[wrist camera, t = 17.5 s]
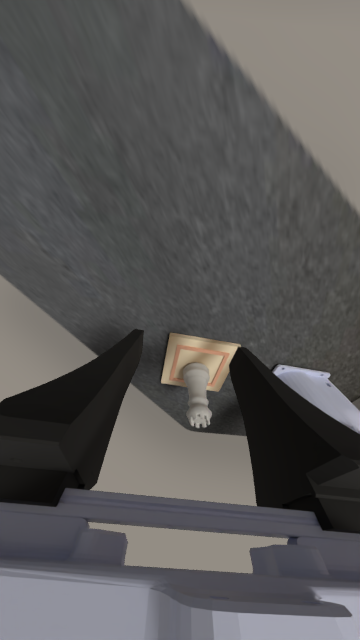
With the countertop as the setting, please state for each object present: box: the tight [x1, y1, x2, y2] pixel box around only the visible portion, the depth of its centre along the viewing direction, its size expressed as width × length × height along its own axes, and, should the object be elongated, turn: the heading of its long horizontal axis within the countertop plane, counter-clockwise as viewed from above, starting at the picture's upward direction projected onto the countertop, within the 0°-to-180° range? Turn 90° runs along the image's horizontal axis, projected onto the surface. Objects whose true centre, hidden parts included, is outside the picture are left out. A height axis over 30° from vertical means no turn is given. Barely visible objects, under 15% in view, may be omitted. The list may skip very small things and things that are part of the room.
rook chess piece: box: [183, 362, 212, 428], centre depth 21 cm, size 4×4×8 cm
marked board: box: [161, 332, 241, 392], centre depth 24 cm, size 11×11×1 cm
